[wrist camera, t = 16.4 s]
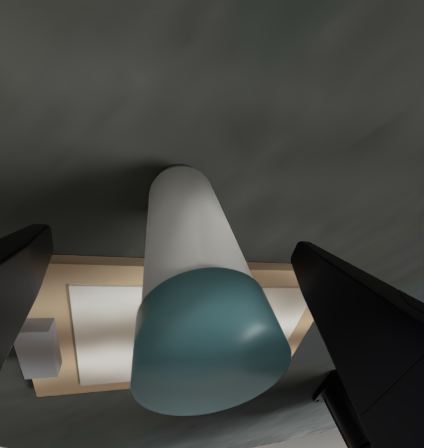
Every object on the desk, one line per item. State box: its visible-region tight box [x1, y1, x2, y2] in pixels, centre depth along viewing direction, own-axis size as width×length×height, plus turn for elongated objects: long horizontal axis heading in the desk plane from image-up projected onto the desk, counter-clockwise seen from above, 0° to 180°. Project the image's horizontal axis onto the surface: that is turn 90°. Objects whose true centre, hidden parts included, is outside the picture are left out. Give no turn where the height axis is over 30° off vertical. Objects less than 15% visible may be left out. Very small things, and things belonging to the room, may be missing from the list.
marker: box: [130, 164, 291, 416], centre depth 9 cm, size 3×3×10 cm
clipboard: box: [14, 255, 314, 397], centre depth 19 cm, size 14×22×2 cm, turn 79°
